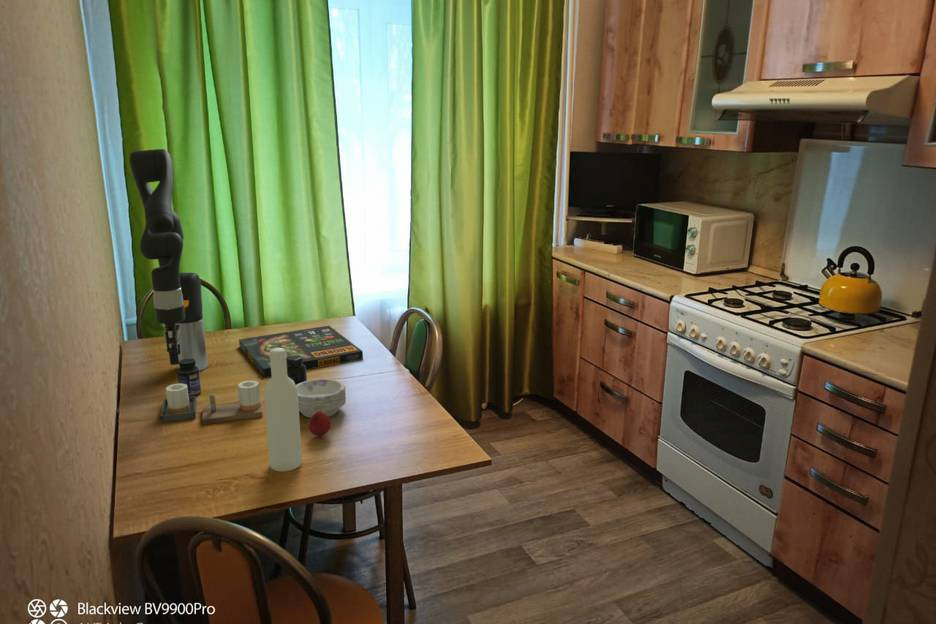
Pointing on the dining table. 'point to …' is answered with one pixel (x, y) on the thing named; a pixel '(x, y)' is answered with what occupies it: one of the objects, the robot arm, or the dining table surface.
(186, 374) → the pill bottle
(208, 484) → the dining table surface
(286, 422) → the bottle
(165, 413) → the feeder tray
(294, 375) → the supplement bottle
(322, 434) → the onion
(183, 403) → the sleeve
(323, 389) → the paper bowls
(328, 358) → the pizza box
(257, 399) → the seated sleeve
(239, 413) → the pin board
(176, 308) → the robot arm
